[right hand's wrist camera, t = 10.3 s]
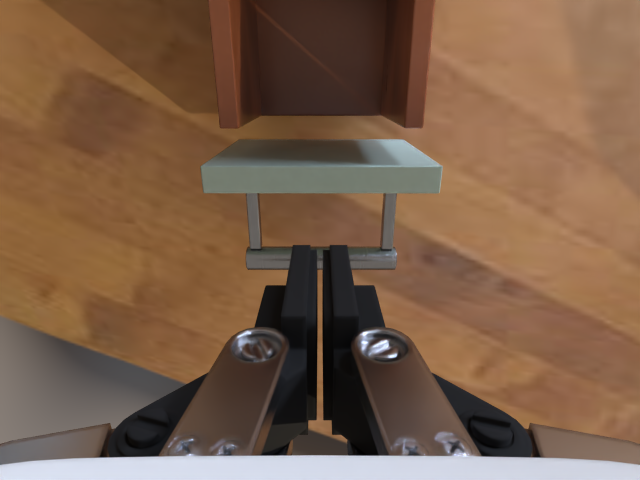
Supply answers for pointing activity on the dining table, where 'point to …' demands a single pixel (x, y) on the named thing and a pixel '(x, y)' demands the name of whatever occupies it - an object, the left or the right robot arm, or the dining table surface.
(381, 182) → the drawer
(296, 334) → the right robot arm
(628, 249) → the dining table surface
